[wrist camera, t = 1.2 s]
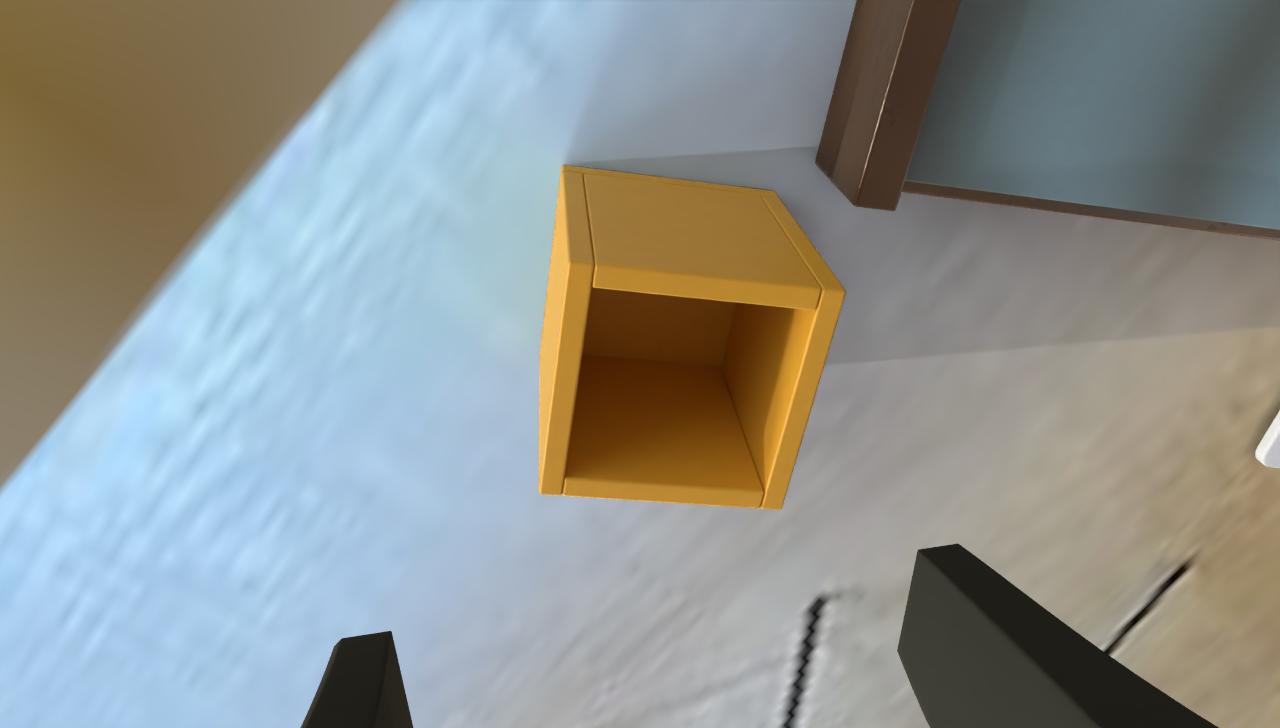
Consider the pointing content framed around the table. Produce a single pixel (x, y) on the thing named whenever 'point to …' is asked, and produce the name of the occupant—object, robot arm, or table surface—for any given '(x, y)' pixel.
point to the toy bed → (1064, 108)
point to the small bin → (678, 341)
